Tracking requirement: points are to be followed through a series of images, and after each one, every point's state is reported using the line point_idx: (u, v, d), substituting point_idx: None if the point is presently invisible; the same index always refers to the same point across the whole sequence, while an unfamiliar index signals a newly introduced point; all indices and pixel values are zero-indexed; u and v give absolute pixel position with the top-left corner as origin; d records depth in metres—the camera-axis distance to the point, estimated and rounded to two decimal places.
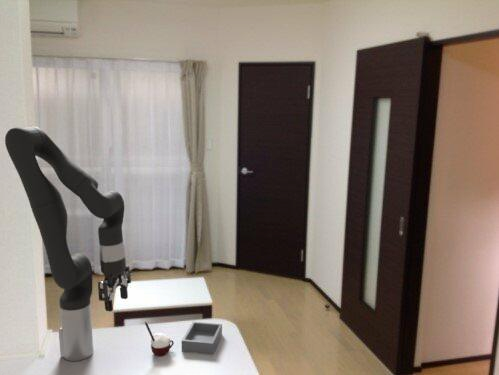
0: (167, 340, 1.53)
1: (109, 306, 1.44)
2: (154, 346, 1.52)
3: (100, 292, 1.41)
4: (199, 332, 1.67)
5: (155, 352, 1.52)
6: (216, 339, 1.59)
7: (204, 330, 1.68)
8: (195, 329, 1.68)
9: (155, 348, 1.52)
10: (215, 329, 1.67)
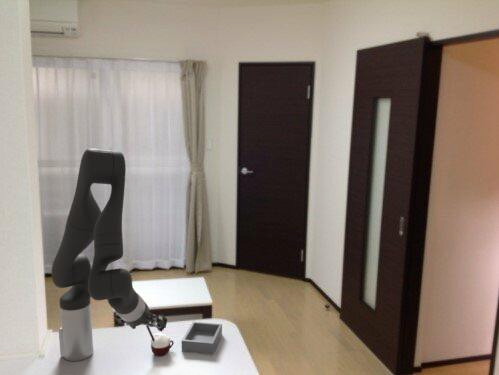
0: (167, 340, 1.53)
1: (130, 325, 1.42)
2: (154, 346, 1.52)
3: None
4: (199, 332, 1.67)
5: (155, 352, 1.52)
6: (216, 339, 1.59)
7: (204, 330, 1.68)
8: (195, 329, 1.68)
9: (155, 348, 1.52)
10: (215, 329, 1.67)
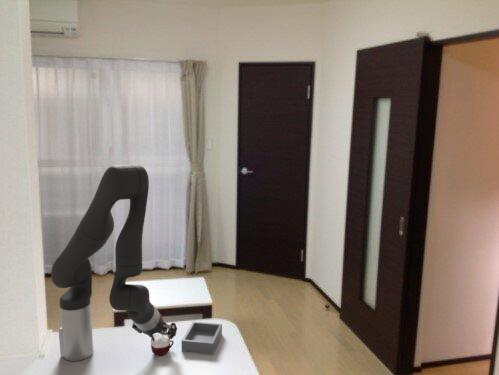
0: (167, 340, 1.53)
1: None
2: (154, 346, 1.52)
3: None
4: (199, 332, 1.67)
5: (155, 352, 1.52)
6: (216, 339, 1.59)
7: (204, 330, 1.68)
8: (195, 329, 1.68)
9: (155, 348, 1.52)
10: (215, 329, 1.67)
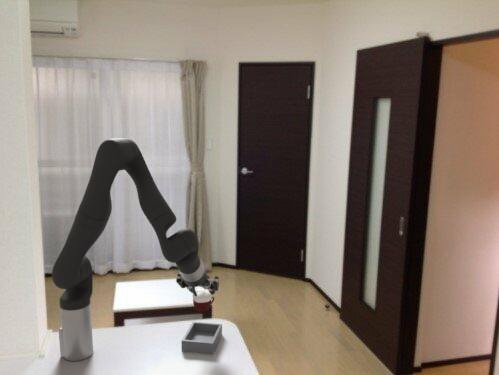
0: (209, 295, 1.57)
1: (189, 290, 1.58)
2: (196, 301, 1.55)
3: None
4: (199, 332, 1.67)
5: (197, 307, 1.56)
6: (216, 339, 1.59)
7: (204, 330, 1.68)
8: (195, 329, 1.68)
9: (198, 302, 1.55)
10: (215, 329, 1.67)
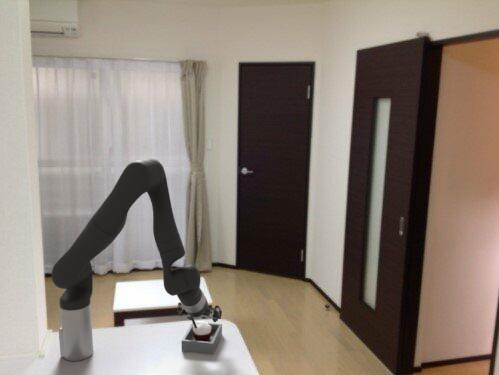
0: (209, 327, 1.60)
1: (187, 317, 1.60)
2: (196, 333, 1.58)
3: None
4: None
5: (197, 339, 1.59)
6: (216, 339, 1.59)
7: None
8: None
9: (198, 335, 1.58)
10: (215, 329, 1.67)
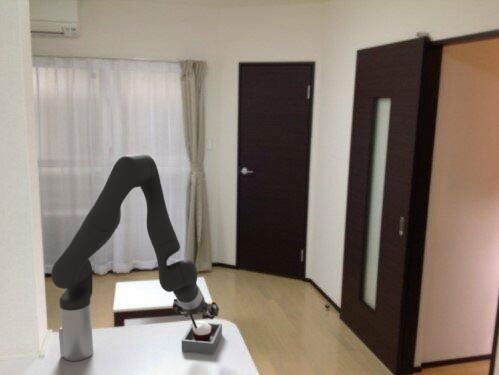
0: (209, 327, 1.60)
1: (183, 314, 1.56)
2: (197, 333, 1.58)
3: None
4: None
5: (197, 339, 1.59)
6: (216, 339, 1.59)
7: None
8: None
9: (198, 335, 1.58)
10: (215, 329, 1.67)
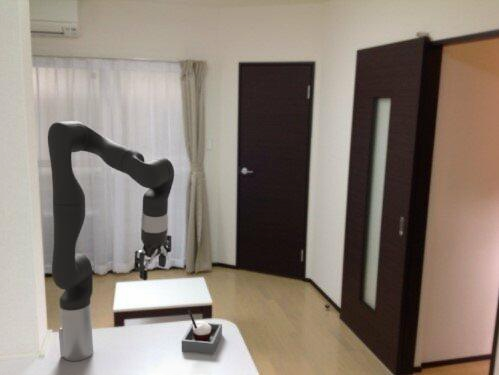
0: (209, 327, 1.60)
1: (144, 275, 1.38)
2: (197, 333, 1.58)
3: (136, 261, 1.34)
4: None
5: (197, 339, 1.59)
6: (216, 339, 1.59)
7: None
8: None
9: (198, 335, 1.58)
10: (215, 329, 1.67)
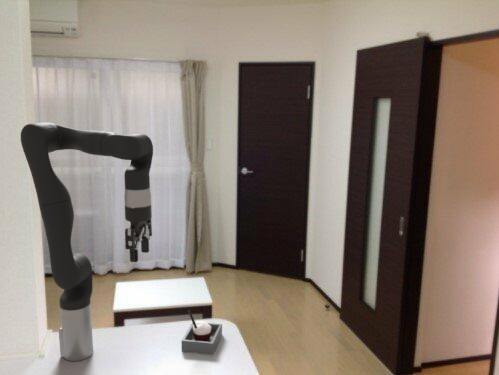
0: (209, 327, 1.60)
1: (135, 256, 1.35)
2: (197, 333, 1.58)
3: (127, 239, 1.32)
4: None
5: (197, 339, 1.59)
6: (216, 339, 1.59)
7: None
8: None
9: (198, 335, 1.58)
10: (215, 329, 1.67)
